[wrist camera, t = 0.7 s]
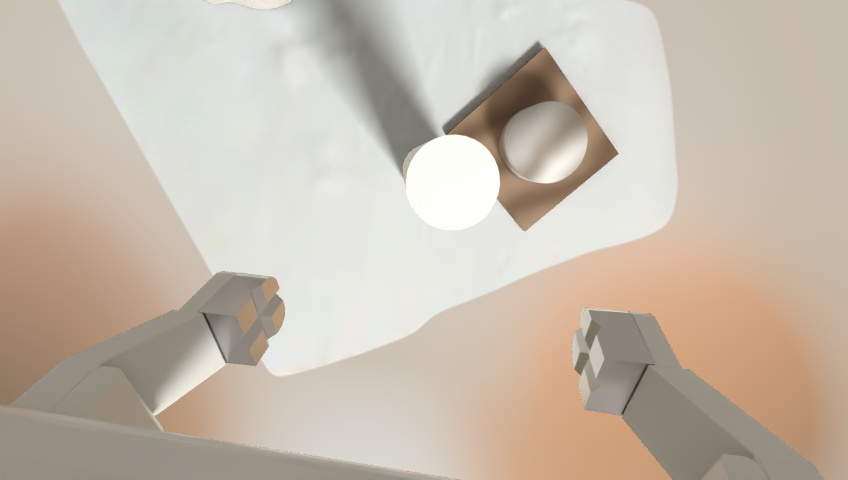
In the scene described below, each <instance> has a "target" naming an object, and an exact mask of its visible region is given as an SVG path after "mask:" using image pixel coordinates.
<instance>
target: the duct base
mask: <svg viewBox="0 0 848 480" xmlns="http://www.w3.org/2000/svg"><path fill="white" fill-rule="evenodd" d="M446 135H462V136H467V137H469V138H472V139H475V140H476V141H478V142H479V143H481V144H482V145H484V146H485V147H486V148H487V149H488V150H489V152H490V153H491V154H492V156H493V157H494V159H495V162H496V164H497V166H498V170H499V175H500V187H499V193H498V196H497V199H498V200H499V202H500V203H501V204H502V205H503V207H504V208H505V209H506V210H507V211H508V213H509V214H510V215H511V216H512V218H513V219H514V220H515V221H516V223H517V224H518V225H519V226H520V228H521V229H522V230H523V231H526V230H527V229H529V228H530V227H531V226H532V225H533V224H535V223H536V222H537V221H538V220H539V219H541V218H542V217H543V216H544V215H545V214H547V213H548V212H549V211H550V210H551V209H553V208H554V207H555V206H556V205H557V204H559V203H560V202H561V201H562V200H563V199H565V198H566V197H567V196H568V195H570V194H571V193H572V192H573V191H574V190H576V189H577V188H578V187H579V186H580V185H582V184H583V183H584V182H585V181H586V180H588V179H589V178H590V177H591V176H592V175H594V174H595V173H596V172H597V171H598V170H600V169H601V168H602V167H603V166H604V165H606V164H607V163H608V162H609V161H610V160H612V159H613V158H614V157H615V156H616V155H618V154H619V153H618V152H617V151H616V149H615V148H614V146H613V145H612V143H611V142H610V140H609V139H608V138H607V136H606V135H605V133H604V132H603V130H602V129H601V127H600V126H599V125H598V123H597V122H596V120H595V119H594V117H593V116H592V114H591V113H590V111H589V110H588V109H587V107H586V106H585V104H584V103H583V101H582V100H581V98H580V97H579V96H578V94H577V93H576V91H575V90H574V88H573V87H572V85H571V84H570V83H569V81H568V80H567V78H566V77H565V75H564V74H563V72H562V71H561V69H560V68H559V67H558V65H557V64H556V62H555V61H554V59H553V58H552V56H551V55H550V54H549V52H548V51H547V49H546V48H543V49H542V50H541V51H540V52H539V53H537V54H536V55H535V56H534V57H533V58H532V59H531V60H530V61H528V62H527V63H526V64H525V65H524V66H523V67H522V68H521V69H520V70H518V71H517V72H516V73H515V74H514V75H513V76H512V77H511V78H509V79H508V80H507V81H506V82H505V83H504V84H503V85H502V86H500V87H499V88H498V89H497V90H496V91H495V92H494V93H493V94H491V95H490V96H489V97H488V98H487V99H486V100H485V101H484V102H482V103H481V104H480V105H479V106H478V107H477V108H476V109H475V110H473V111H472V112H471V113H470V114H469V115H468V116H467V117H466V118H464V119H463V120H462V121H461V122H460V123H459V124H458V125H457V126H455V127H454V128H453V129H452V130H451V131H450V132H449V133H448V134H446Z"/></svg>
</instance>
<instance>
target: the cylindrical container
mask: <svg viewBox="0 0 848 480" xmlns="http://www.w3.org/2000/svg"><path fill="white" fill-rule="evenodd" d="M403 176H404V182H405V186H406V192H407V196H408V199H409V202H410V204H411V206H412V208H413V210H414V211H415V212H416V213H417V215H418V216H419V217H420V218H421V219H422V220H424V221H425V222H426V223H428V224H430V225H431V226H434V227H436V228H439V229H444V230H461V229H464V228H467V227H470V226H472V225H474V224H476V223H478V222H479V221H480V220H482V219H483V218H484V217H485V216H486V215H487V214H488V213H489V212H490V210H491V209H492V207H493V205H494V204H495V201H496V199H497V196H498V193H499V187H500V175H499V170H498V166H497V164H496V162H495V159H494V157H493V156H492V154H491V153H490V152H489V150H488V149H487V148H486V147H485V146H484V145H482V144H481V143H479V142H478V141H476V140H475V139H472V138H469V137H467V136H462V135H445V136H442V137H438V138H435V139H433V140H431V141H429V142H426V143H424V144H422V145H420V146H418V147H416V148H414V149H413V150H411V151H410V152H409V154H408V155H407V156H406V158H405V160H404V163H403Z"/></svg>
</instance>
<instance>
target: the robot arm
mask: <svg viewBox="0 0 848 480" xmlns="http://www.w3.org/2000/svg"><path fill="white" fill-rule="evenodd" d="M205 1H206V2H208V3H213V4H218V3H227V2H234V3H238V4H241V5H244V6H247V7H251V8H256V9H272V8H277V7H280V6H283V5H285V4H287V3H289V2H291V1H293V0H205ZM278 290H279V286H278V283H277V280H276V279H275V278H273V277H270V276H262V275H254V274H246V273H234V272H227V271H222V272H219V273H216V274H215V275H214V276H213V277H212V278H211V279H210V280H209V281H208V282H207V283H206V284H205V285H204V286H203V287H202V288H201V289H200V290H199V291H198V292H197V293H196V294H195V295H194V296H193V297H192V298H191V299H190V300H189V301H188V302H187V303H186V304H185V305H184V306H183V307H182V308H181V309H180V310H172V311H170V312H168V313H165V314H163V315H161V316H159V317H157V318H154V319H152V320H150V321H148V322H145V323H143V324H141V325H139V326H137V327H134V328H132V329H130V330H128V331H126V332H123V333H121V334H119V335H116V336H114V337H112V338H110V339H108V340H105V341H103V342H101V343H99V344H97V345H94V346H92V347H90V348H88V349H85V350H83V351H81V352H79V353H77V354H74V355H72V356H70V357H68V358H66V359H64V360H63V361H62V362H61V363H59V364H58V365H57V366H56V367H55V368H53V370H51V371H50V372H49V373H47V374H46V375H45V376H44V377H43V378H42V379H40V380H39V381H38V382H37V383H35V384H34V385H33V386H32V387H31V388H30V389H28V390H27V391H26V392H25V393H23V394H22V395H21V396H20V397H19V398H18V399H16V400H15V401H14V402H13V403H12V404H10V405H9V406H7V405H1V404H0V480H458V479H453V478H446V477H440V476H434V475H428V474H422V473H416V472H410V471H403V470H398V469H392V468H386V467H379V466H373V465H367V464H361V463H355V462H349V461H343V460H336V459H330V458H324V457H318V456H312V455H306V454H299V453H293V452H287V451H281V450H274V449H269V448H263V447H257V446H251V445H245V444H238V443H232V442H226V441H220V440H213V439H208V438H201V437H195V436H189V435H183V434H177V433H171V432H165V431H163V428H162V426H161V425H160V424H159V422H158V421H157V420H156V418H155V417H154V416H156V415H157V414H158V413H160V412H161V411H162V410H164V409H165V408H167V407H168V406H169V405H171V404H172V403H174V402H175V401H176V400H178V399H179V398H180V397H182V396H183V395H185V394H186V393H187V392H189V391H190V390H191V389H193V388H194V387H196V386H197V385H198V384H200V383H201V382H202V381H204V380H205V379H207V378H208V377H209V376H211V375H212V374H214V373H215V372H216V371H218V370H219V369H220V368H222V367H223V366H224V365H226V363H233V364H243V365H253V366H256V365H257V363H258V362H259V360H260V359H261V357H262V356H263V354H264V353H265V351H266V350H267V348H268V347H269V344H268V339H269V338H270V337H272V336H273V335H275V334H277V333H278V331H279V329H280V328H281V326H282V323H283V320H284V316H285V306H284V303H283V300H282V299H281V298H280V297H279V296H278V295H277V294H276V293H277V291H278ZM579 320H580V324H581V328H580V329H579V330H577V331H576V332H575V334H574V338H573V342H572V360H573V365H574V369H575V370H576V371H577V372H578V373H579V374H580V375H581V378H580V380H579V383H578V387H579V392H580V396H581V400H582V404H583V408H584V410H589V411H596V412H602V413H608V414H614V415H621V416H622V418H623V420H624V421H625V422H626V423H627V425H628V426H629V427H630V428H631V429H632V431H633V432H634V433H635V434H636V435H637V437H638V438H639V439H640V440H641V442H642V443H643V444H644V445H645V446H646V448H647V449H648V450H649V451H650V453H651V454H652V455H653V456H654V457H655V458H656V460H657V461H658V462H659V463H660V465H661V466H662V467H663V468H664V469H665V471H666V472H667V473H668V474H669V476H670V477H671V478H672V479H673V480H824V478H823V477H822V476H821V474H820V473H819V471H818V470H817V468H816V467H815V466H814V465H813V464H812V463H811V462H810V461H808V460H807V459H806V458H804V457H803V456H802V455H800V454H799V453H798V452H796V451H795V450H794V449H792V448H791V447H790V446H788V445H787V444H786V443H785V442H783V441H782V440H781V439H779V438H778V437H777V436H776V435H774V434H773V433H772V432H770V431H769V430H768V429H766V428H765V427H763V426H762V425H761V424H760V423H759V422H757V421H756V420H755V419H753V418H752V417H751V416H749V415H748V414H747V413H745V412H744V411H743V410H742V409H740V408H739V407H738V406H736V405H735V404H734V403H732V402H731V401H730V400H729V399H727V398H726V397H725V396H723V395H722V394H721V393H719V392H718V391H717V390H715V389H714V388H713V387H711V386H710V385H709V384H708V383H706V382H705V381H704V380H702V379H701V378H700V377H699V376H697V375H696V374H695V373H693V372H692V371H691V370H688V369H682V367H681V365H680V363H679V361H678V360H677V358H676V356H675V354H674V352H673V350H672V349H671V347H670V345H669V343H668V341H667V339H666V337H665V335H664V334H663V332H662V330H661V328H660V326H659V324H658V322H657V320H656V318H655V317H654V316H653V315H652V314H651V313H641V312H630V311H628V312H625V311H615V310H604V309H593V308H584V309H583V311H582V312H581V315H580V318H579Z"/></svg>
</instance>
